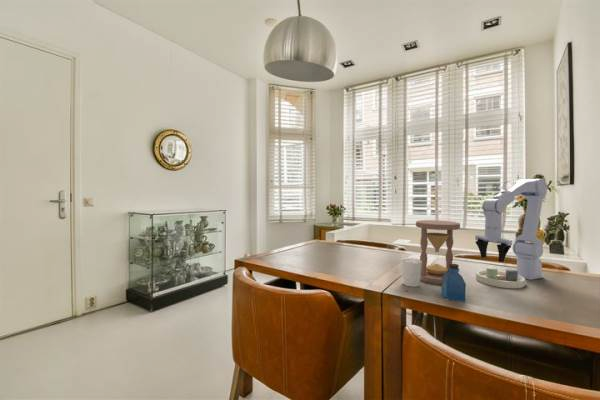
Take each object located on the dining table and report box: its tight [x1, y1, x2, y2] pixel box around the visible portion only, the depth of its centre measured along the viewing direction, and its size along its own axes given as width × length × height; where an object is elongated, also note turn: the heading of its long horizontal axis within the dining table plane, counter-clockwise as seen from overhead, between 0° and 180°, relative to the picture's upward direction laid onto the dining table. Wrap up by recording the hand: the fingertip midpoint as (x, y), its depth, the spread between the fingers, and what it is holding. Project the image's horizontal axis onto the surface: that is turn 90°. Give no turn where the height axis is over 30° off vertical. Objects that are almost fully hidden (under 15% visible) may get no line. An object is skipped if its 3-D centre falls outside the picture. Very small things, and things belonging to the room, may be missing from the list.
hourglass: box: [415, 219, 461, 286], centre depth 128 cm, size 18×18×25 cm
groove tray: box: [475, 269, 526, 289], centre depth 125 cm, size 17×17×2 cm
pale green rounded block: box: [485, 266, 499, 280], centre depth 123 cm, size 4×4×5 cm
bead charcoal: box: [505, 268, 518, 281], centre depth 120 cm, size 4×4×5 cm
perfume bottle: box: [441, 263, 467, 302], centre depth 107 cm, size 6×6×12 cm
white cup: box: [401, 257, 422, 288], centre depth 121 cm, size 8×8×10 cm
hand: (492, 259), depth 123 cm, fingers open, 7 cm apart
